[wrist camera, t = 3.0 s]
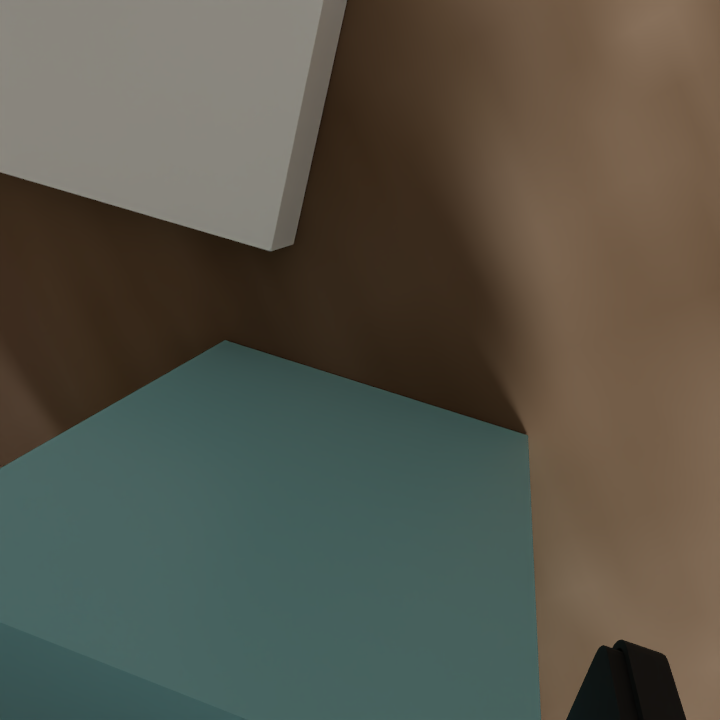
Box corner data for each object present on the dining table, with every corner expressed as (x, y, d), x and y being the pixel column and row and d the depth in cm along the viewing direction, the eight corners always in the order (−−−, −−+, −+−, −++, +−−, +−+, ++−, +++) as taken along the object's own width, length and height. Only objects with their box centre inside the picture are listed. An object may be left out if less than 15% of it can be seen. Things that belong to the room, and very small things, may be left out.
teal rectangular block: (528, 435, 12) (547, 837, 5) (436, 690, 14) (348, 1272, 7) (225, 339, 13) (-160, 559, 6) (175, 593, 15) (-167, 1014, 7)
